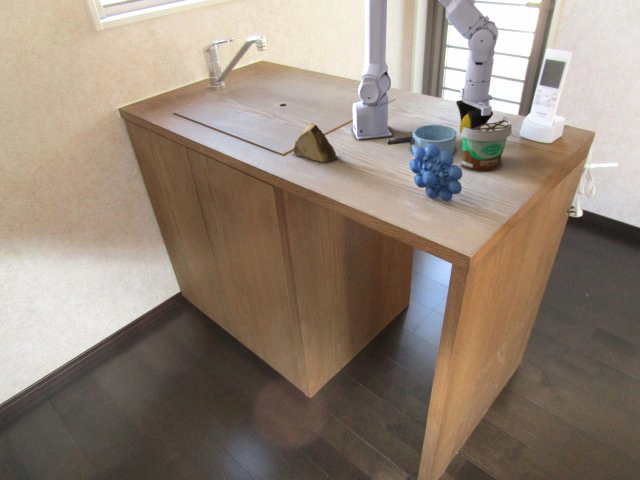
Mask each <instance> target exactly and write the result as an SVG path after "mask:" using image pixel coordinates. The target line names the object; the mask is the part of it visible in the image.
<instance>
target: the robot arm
mask: <svg viewBox="0 0 640 480" xmlns="http://www.w3.org/2000/svg"><path fill="white" fill-rule="evenodd" d="M437 1H438V3H440V5H442V6H443V8H445V18H446V20H447V21H448V22H449V23H450V24H451V25H452V27H454V28H455V30H456V31H457V32H458V33H459V34H460V35H461V36H462V37H463V39H466V40H467V46H468V49H469V53H468V54H469V55H468V58H467V63H466V71H465V72H466V73H465V79H464V88H460V90H459V91H460V92H459V97H460V98H461V99H460V100H456V102H455V104H456V106H457V109H458V112H459V118H460V123H461V122H462V119H463V118H464V116H465V115H467V114H468V115H469V119H470V129H472V128H475V127H478V126H480V125H482V124H486V123H489V120H490V119H491V118H492V117H493V116H494V111H492V108H493V107H492V105H491V103H490V101H492V100H493V96H492V95H491V94H490V92H489V91H490V88H491V87H490V86H491V81H492V74H493V68H494V61H495V58H494V56H495V52H496V51H495V47H496V46H497V41H498V37H499V30H498V27H497V26H496V23H495V22H494V21H492V20H490V17H489V16H488V15H484V14H483V13H482V12H481V11H480V10H479V9H478V7H476V5H475V4H476V0H437ZM364 7H365V8H364V11H365V12H364V21H365V23H364V34H365V36H364V67H363V69H362V73H361V80H360V84H359V86H358V89H357V94H358V95H357V96H358V97H359V99H360V100H359V101H358V102H353V103H352V130H353V133H354V135H355V137H356V139H357V140H368V139H377V138H387V137H392V132H391V130H390V129H389V127H388V125H389V97H388V96H389V95H388V94H387V92H388V91H389V90H390V88H391V85H392V80H391V76H390V75H389V66H388V64H387V61H386V59H387V58H386V57H387V55H386V54H387V19H388V18H387V17H388V13H387V12H388V0H364Z"/></svg>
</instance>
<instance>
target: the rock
mask: <svg viewBox="0 0 640 480" xmlns="http://www.w3.org/2000/svg"><path fill="white" fill-rule="evenodd" d="M293 154H294V155H296V156H299V157H302V158H305V159H309V160H313V161H318V162H320V163H321V162H322V163H325V162H329V161H330V162H331V161H333V160H336V159H338V156H337V152H336V151H335V149H334V147H333V145H332V144H331V142H329V140H328V138H327V137H326V135H325V134H324V133H323V131H322V130H321V129H320V128H319V126H318V125H316V124H315V123H313V122H310V123H309V124H307V125H306V126H305V129H303V131H302V132H301V134H300V135H299V137H298V138H297V140H295V142H294V147H293Z"/></svg>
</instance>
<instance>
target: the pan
mask: <svg viewBox="0 0 640 480" xmlns="http://www.w3.org/2000/svg"><path fill="white" fill-rule="evenodd" d="M412 137H413V138H414V139H415V144H414V145H411V150H412V153H414V150H415V149H416V148H418V147H422V148H424V149H425V147H426V146H427V145H428V144H431V143H432V144H435V145H436V146H437V147H438V148H439V151H440V152H441V151H445V150H446V151H449V152H450V153H451V154H452V155H453V154H454V153H455V148H456V142H457V141H456V140H457V131H456V130H455V129H454V128H453V127H450V126H448V125H442V124H424V125H421V126H418V127H416V128H414V129H413V132H412Z"/></svg>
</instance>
